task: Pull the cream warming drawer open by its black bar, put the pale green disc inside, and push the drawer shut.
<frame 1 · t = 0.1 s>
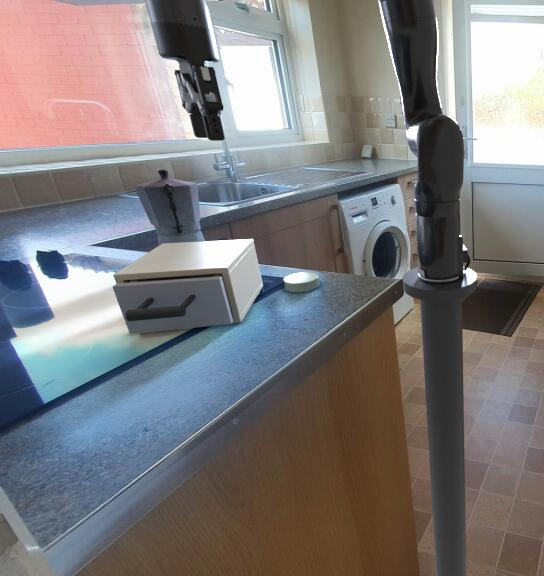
hand: (209, 139, 68), 26 cm above the counter, tool pointing down, fingers open, 8 cm apart
pale green disc: (302, 286, 79), on the counter
drawer: (186, 294, 63), point 5 cm above the counter, slide at 1.0 cm
cabinet: (207, 306, 69), on the counter
moka pot: (191, 270, 85), on the counter
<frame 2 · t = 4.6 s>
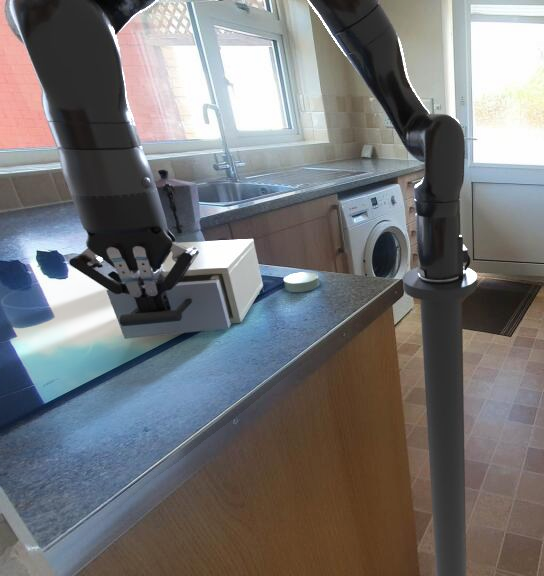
hand: (158, 319, 55), 5 cm above the counter, tool pointing down, fingers closed
drawer: (183, 298, 61), point 5 cm above the counter, slide at 2.4 cm
everything else where it was.
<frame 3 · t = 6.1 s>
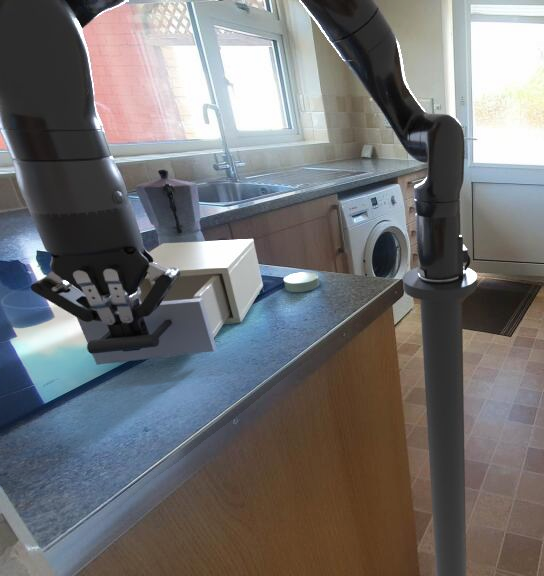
hand: (135, 347, 49), 4 cm above the counter, tool pointing down, fingers closed
drawer: (163, 317, 56), point 5 cm above the counter, slide at 9.2 cm, touching gripper
everything else where it was.
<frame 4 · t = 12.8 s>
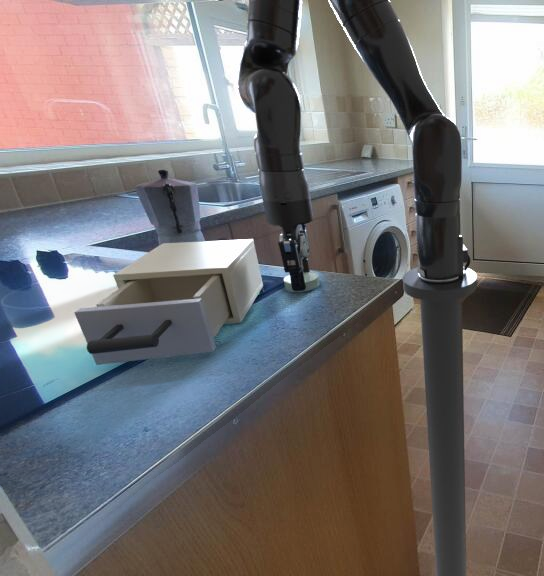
hand: (301, 283, 79), 1 cm above the counter, tool pointing down, fingers closed on pale green disc, 6 cm apart
pale green disc: (302, 286, 79), on the counter, touching gripper
drawer: (163, 317, 55), point 5 cm above the counter, slide at 9.2 cm
everything else where it was.
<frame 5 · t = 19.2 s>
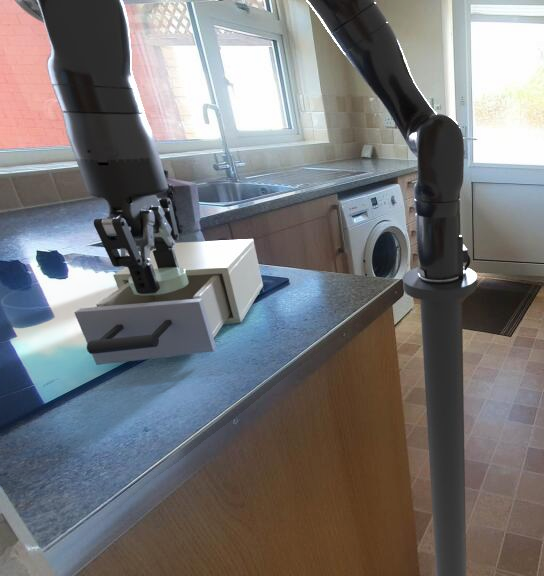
hand: (160, 282, 55), 9 cm above the counter, tool pointing down, fingers closed on pale green disc, 6 cm apart
pale green disc: (161, 286, 56), point 8 cm above the counter, touching gripper
everything else where it was.
when the fingers open (10 cm above the counter, at t = 30.5 s): pale green disc drops 8 cm, resting on drawer.
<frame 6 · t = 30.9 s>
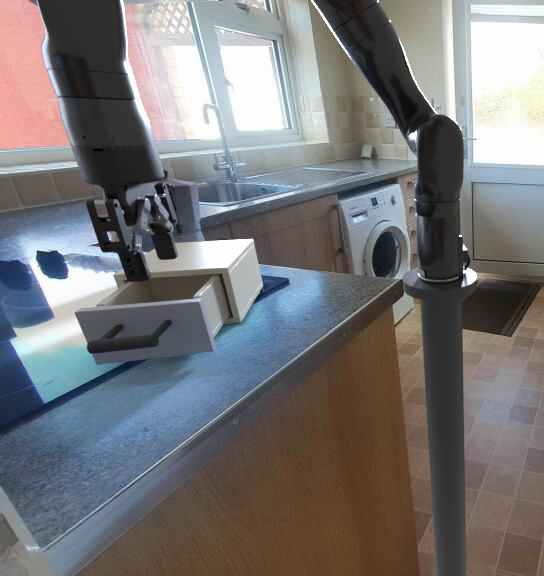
hand: (155, 269, 55), 11 cm above the counter, tool pointing down, fingers open, 8 cm apart
pale green disc: (173, 328, 58), point 2 cm above the counter, touching drawer
drawer: (163, 317, 55), point 5 cm above the counter, slide at 9.2 cm, touching pale green disc
everything else where it was.
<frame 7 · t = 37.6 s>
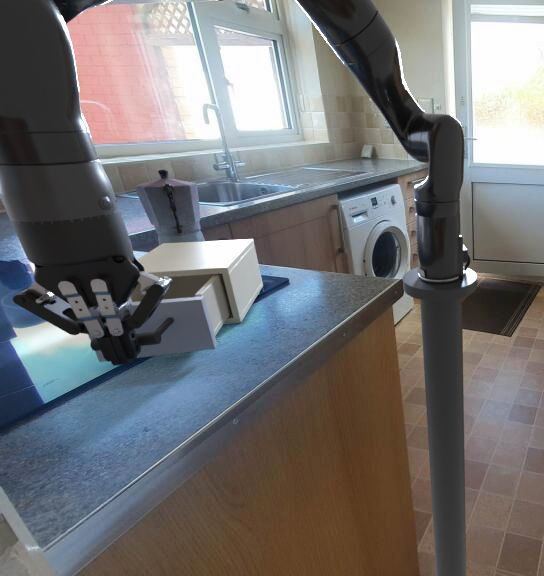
hand: (125, 360, 46), 4 cm above the counter, tool pointing down, fingers closed
drawer: (165, 315, 56), point 5 cm above the counter, slide at 8.5 cm, touching gripper, pale green disc
everything else where it was.
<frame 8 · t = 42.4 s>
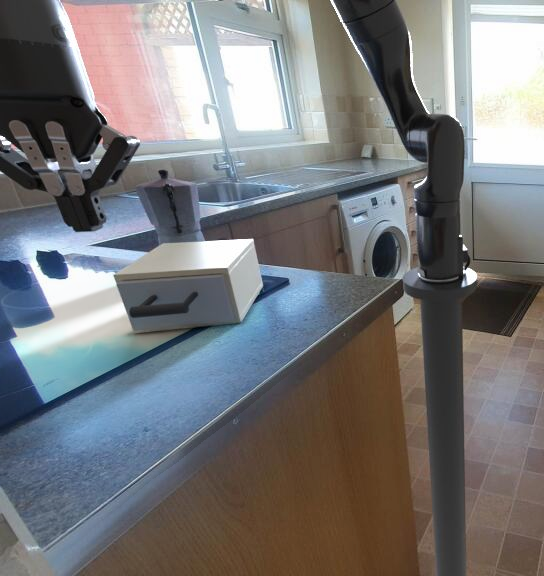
hand: (89, 229, 43), 19 cm above the counter, tool pointing down, fingers closed
pale green disc: (197, 302, 66), point 2 cm above the counter, touching drawer
drawer: (189, 292, 64), point 5 cm above the counter, slide at 0.0 cm, touching pale green disc
everything else where it was.
at the end: pale green disc inside the target area in the cabinet (3.1 cm from its centre), point 2.1 cm above the cabinet's base; drawer slide at 0.0 cm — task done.
